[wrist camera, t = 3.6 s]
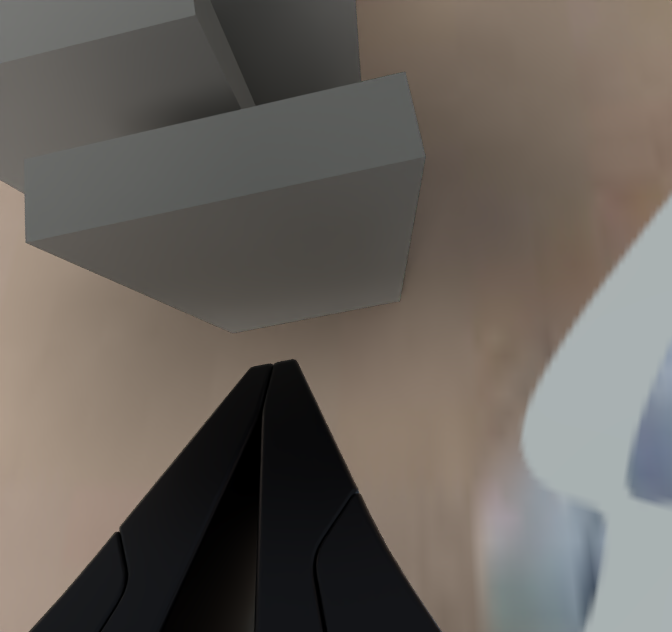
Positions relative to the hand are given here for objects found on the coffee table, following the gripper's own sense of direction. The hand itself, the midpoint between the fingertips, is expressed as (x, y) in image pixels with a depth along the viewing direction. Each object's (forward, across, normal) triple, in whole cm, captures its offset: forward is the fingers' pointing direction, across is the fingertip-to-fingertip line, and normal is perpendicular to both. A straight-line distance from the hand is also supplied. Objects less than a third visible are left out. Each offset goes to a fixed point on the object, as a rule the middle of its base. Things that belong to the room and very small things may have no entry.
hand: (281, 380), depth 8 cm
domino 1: (+9, +3, 0) cm, 10 cm away
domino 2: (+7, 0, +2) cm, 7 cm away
